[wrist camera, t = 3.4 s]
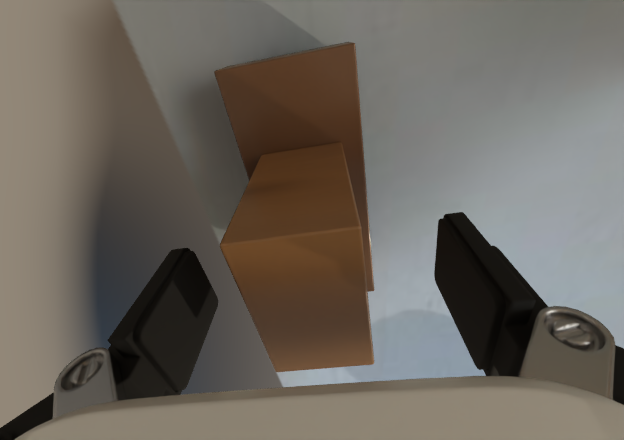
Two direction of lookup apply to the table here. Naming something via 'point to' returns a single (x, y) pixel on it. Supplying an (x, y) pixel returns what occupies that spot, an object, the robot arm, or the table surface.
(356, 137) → the brown stepped block
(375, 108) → the table surface
